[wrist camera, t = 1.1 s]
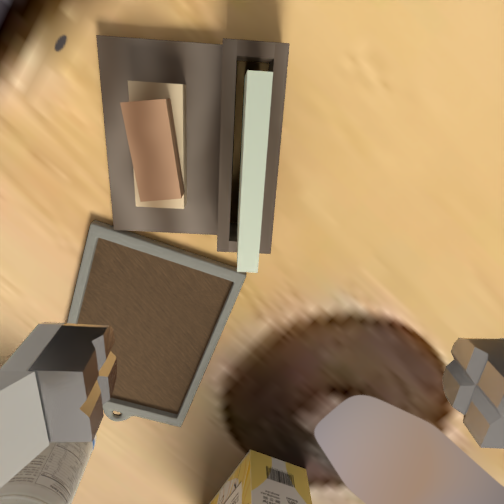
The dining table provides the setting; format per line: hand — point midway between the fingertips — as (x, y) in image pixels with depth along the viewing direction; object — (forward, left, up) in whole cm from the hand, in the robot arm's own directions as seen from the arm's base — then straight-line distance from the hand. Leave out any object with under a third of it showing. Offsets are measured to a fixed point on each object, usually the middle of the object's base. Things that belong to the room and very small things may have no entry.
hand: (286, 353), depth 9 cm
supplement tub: (+25, +43, -35) cm, 61 cm away
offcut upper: (+9, 0, -31) cm, 32 cm away
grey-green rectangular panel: (0, 0, -35) cm, 35 cm away
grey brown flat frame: (+13, +26, -35) cm, 46 cm away
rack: (+6, 0, -34) cm, 35 cm away
